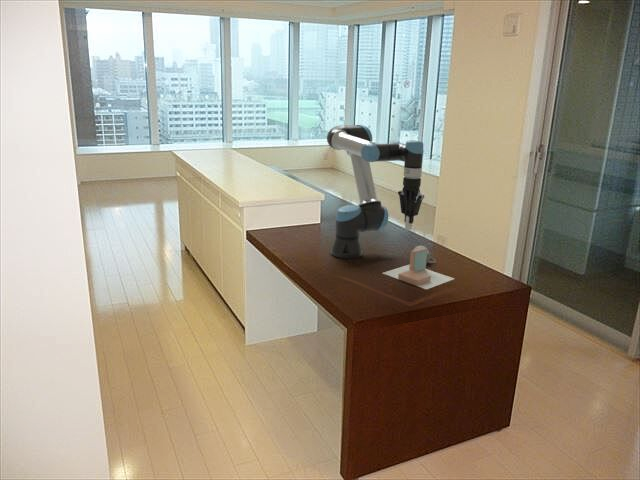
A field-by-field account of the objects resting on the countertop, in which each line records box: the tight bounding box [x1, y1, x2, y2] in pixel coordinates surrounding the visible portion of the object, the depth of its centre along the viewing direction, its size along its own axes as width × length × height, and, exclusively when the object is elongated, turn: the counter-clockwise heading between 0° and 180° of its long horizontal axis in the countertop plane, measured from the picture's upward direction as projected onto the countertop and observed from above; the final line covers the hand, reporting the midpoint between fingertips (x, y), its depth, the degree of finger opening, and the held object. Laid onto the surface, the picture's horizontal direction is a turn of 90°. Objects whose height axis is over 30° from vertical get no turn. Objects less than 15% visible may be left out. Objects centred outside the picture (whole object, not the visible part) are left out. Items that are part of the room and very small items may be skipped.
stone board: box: [382, 263, 455, 290], centre depth 229 cm, size 24×20×1 cm
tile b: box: [408, 247, 428, 272], centre depth 233 cm, size 2×9×10 cm, turn 132°
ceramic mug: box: [413, 245, 437, 265], centre depth 248 cm, size 11×8×8 cm
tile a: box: [397, 270, 431, 286], centre depth 223 cm, size 2×9×10 cm
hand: (408, 230), depth 234 cm, fingers closed
